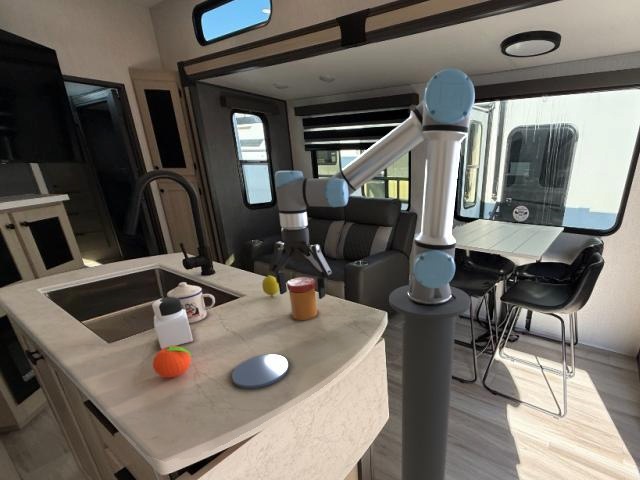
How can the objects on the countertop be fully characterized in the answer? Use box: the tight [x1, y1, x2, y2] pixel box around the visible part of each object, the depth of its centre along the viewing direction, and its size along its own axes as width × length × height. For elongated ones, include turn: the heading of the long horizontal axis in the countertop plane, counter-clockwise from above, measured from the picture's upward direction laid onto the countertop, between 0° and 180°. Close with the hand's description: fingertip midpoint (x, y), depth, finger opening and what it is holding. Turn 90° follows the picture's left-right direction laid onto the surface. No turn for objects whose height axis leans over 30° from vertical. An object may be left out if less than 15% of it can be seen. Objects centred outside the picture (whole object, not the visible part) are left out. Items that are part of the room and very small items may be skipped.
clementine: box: [152, 345, 192, 378], centre depth 71 cm, size 8×7×7 cm
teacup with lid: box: [166, 281, 216, 324], centre depth 98 cm, size 12×9×12 cm
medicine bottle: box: [151, 296, 194, 350], centre depth 85 cm, size 7×7×12 cm
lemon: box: [261, 274, 280, 297], centre depth 115 cm, size 6×6×8 cm
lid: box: [286, 276, 316, 292], centre depth 98 cm, size 8×8×2 cm
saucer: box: [231, 353, 289, 390], centre depth 73 cm, size 12×12×1 cm
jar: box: [288, 287, 318, 321], centre depth 100 cm, size 8×8×11 cm
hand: (302, 295), depth 99 cm, fingers open, 13 cm apart
